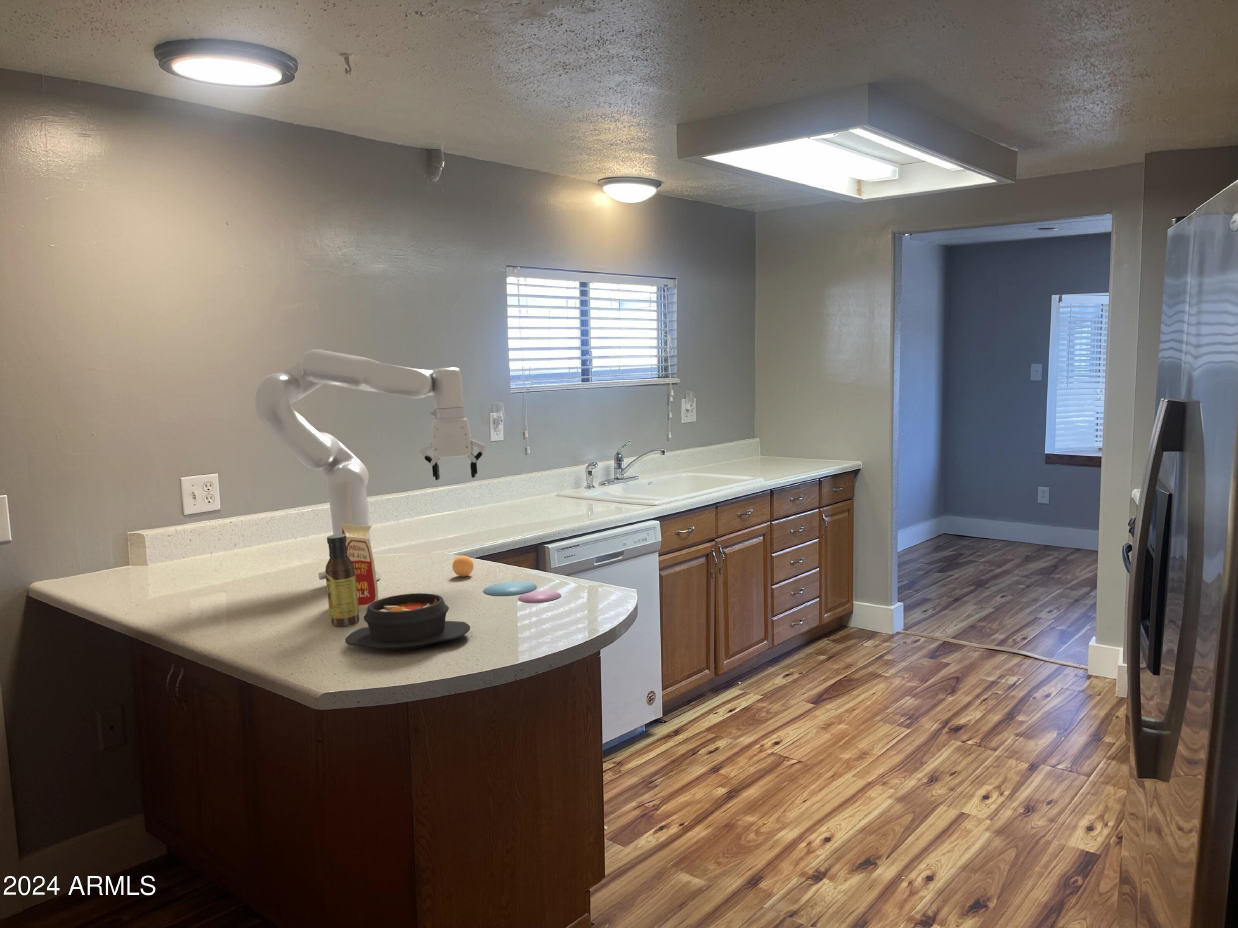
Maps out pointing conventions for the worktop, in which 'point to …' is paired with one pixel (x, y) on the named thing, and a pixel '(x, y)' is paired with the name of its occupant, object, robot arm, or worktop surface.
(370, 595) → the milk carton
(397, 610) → the casserole
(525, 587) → the disc
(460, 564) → the ball
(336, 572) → the sauce bottle
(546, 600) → the disc
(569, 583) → the worktop surface
